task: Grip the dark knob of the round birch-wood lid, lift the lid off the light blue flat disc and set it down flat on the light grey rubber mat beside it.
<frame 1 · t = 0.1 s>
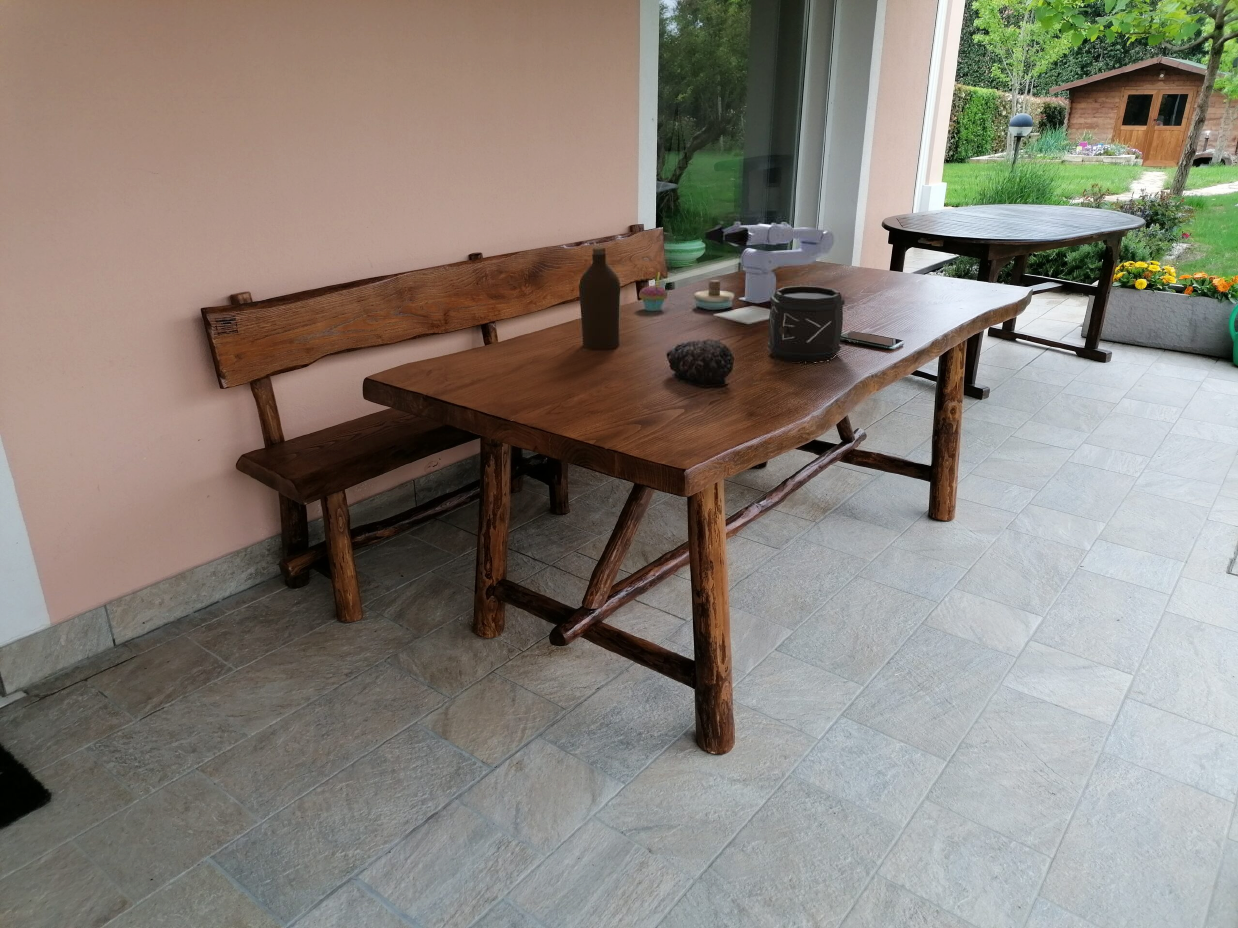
hand: (715, 236, 259), 22 cm above the table, tool horizontal, fingers open, 7 cm apart
mat: (750, 315, 260), on the table
pine cone: (695, 381, 203), on the table
lid: (714, 297, 269), point 3 cm above the table, touching light blue flat disc
cupcake: (653, 310, 269), on the table
olive oil: (601, 346, 231), on the table
dark grey barrel: (801, 356, 221), on the table
light blue flat disc: (713, 307, 270), on the table
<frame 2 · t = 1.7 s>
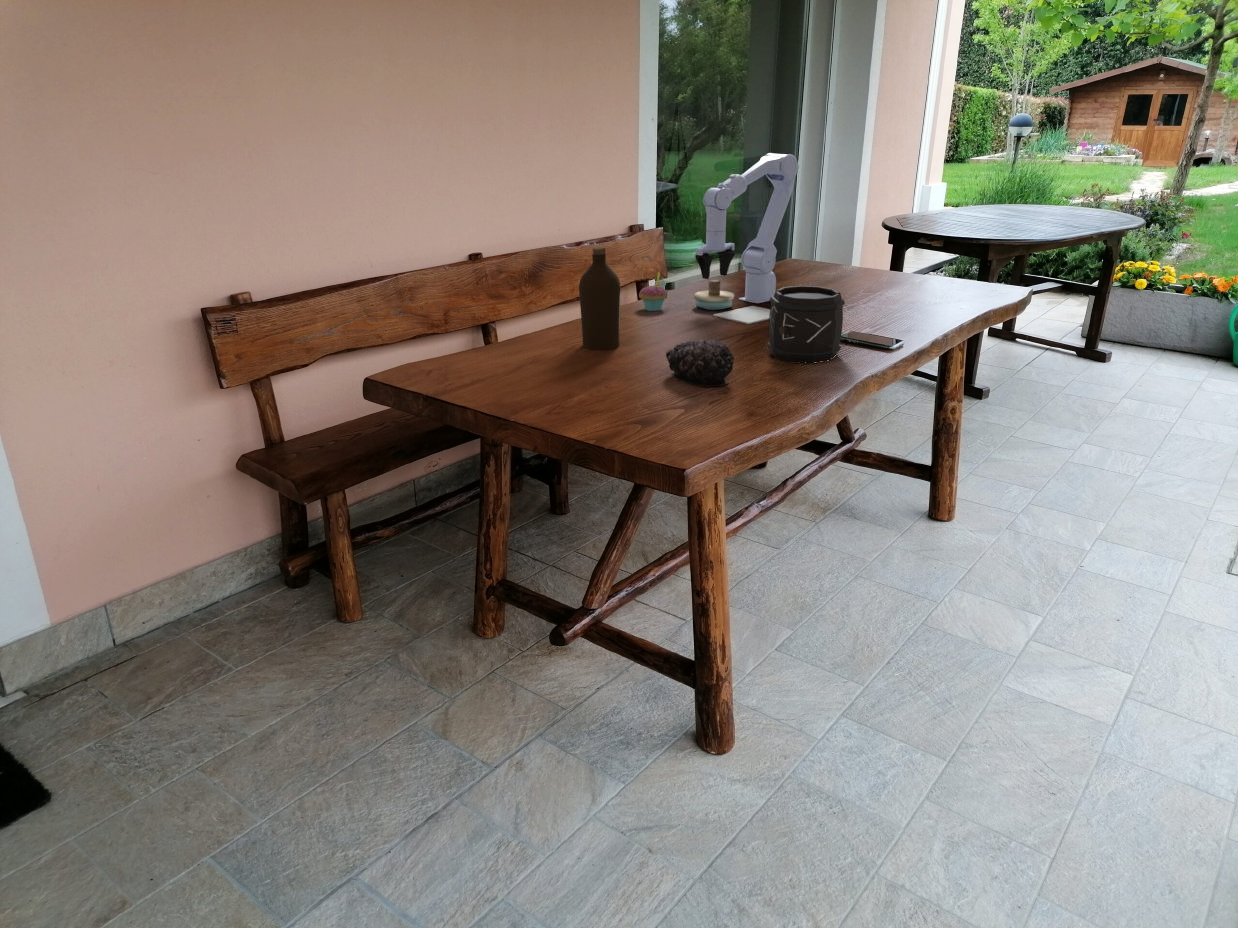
hand: (714, 277, 267), 9 cm above the table, tool pointing down, fingers open, 7 cm apart
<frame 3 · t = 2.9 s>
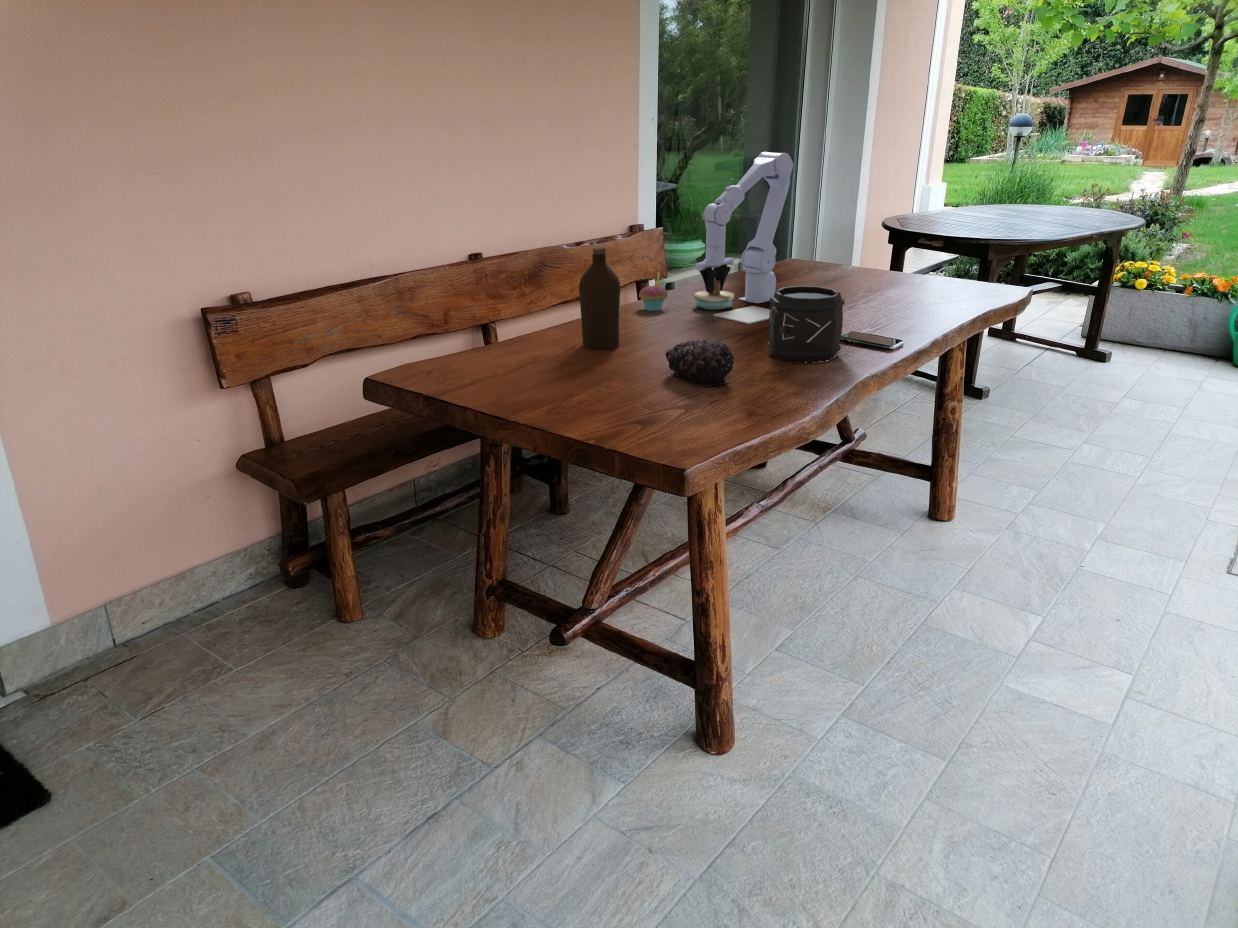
hand: (714, 291, 268), 5 cm above the table, tool pointing down, fingers closed on lid, 3 cm apart
lid: (714, 297, 269), point 3 cm above the table, touching light blue flat disc, gripper
everything else where it was.
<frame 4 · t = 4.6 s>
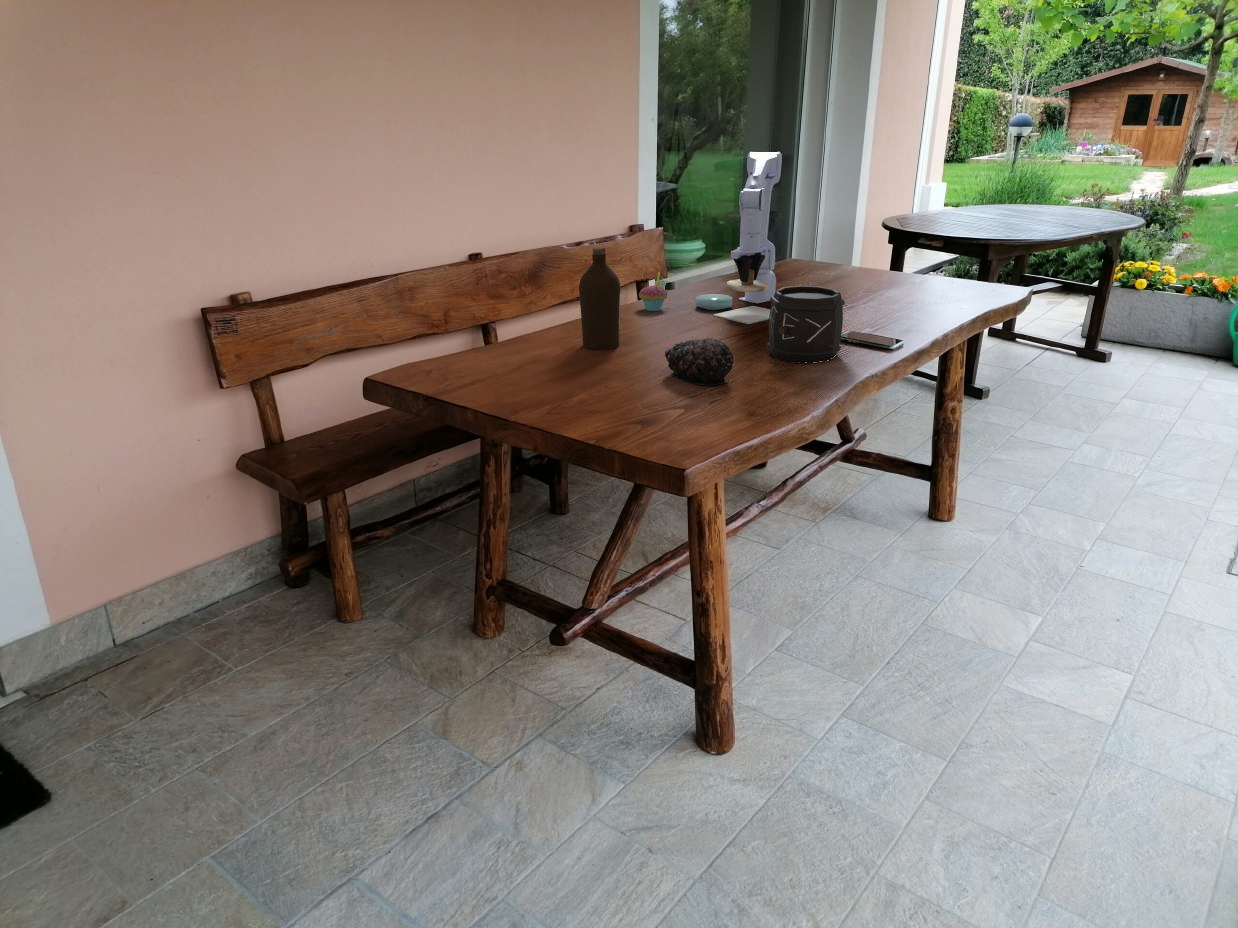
hand: (748, 280, 257), 10 cm above the table, tool pointing down, fingers closed on lid, 3 cm apart
lid: (747, 287, 258), point 8 cm above the table, touching gripper
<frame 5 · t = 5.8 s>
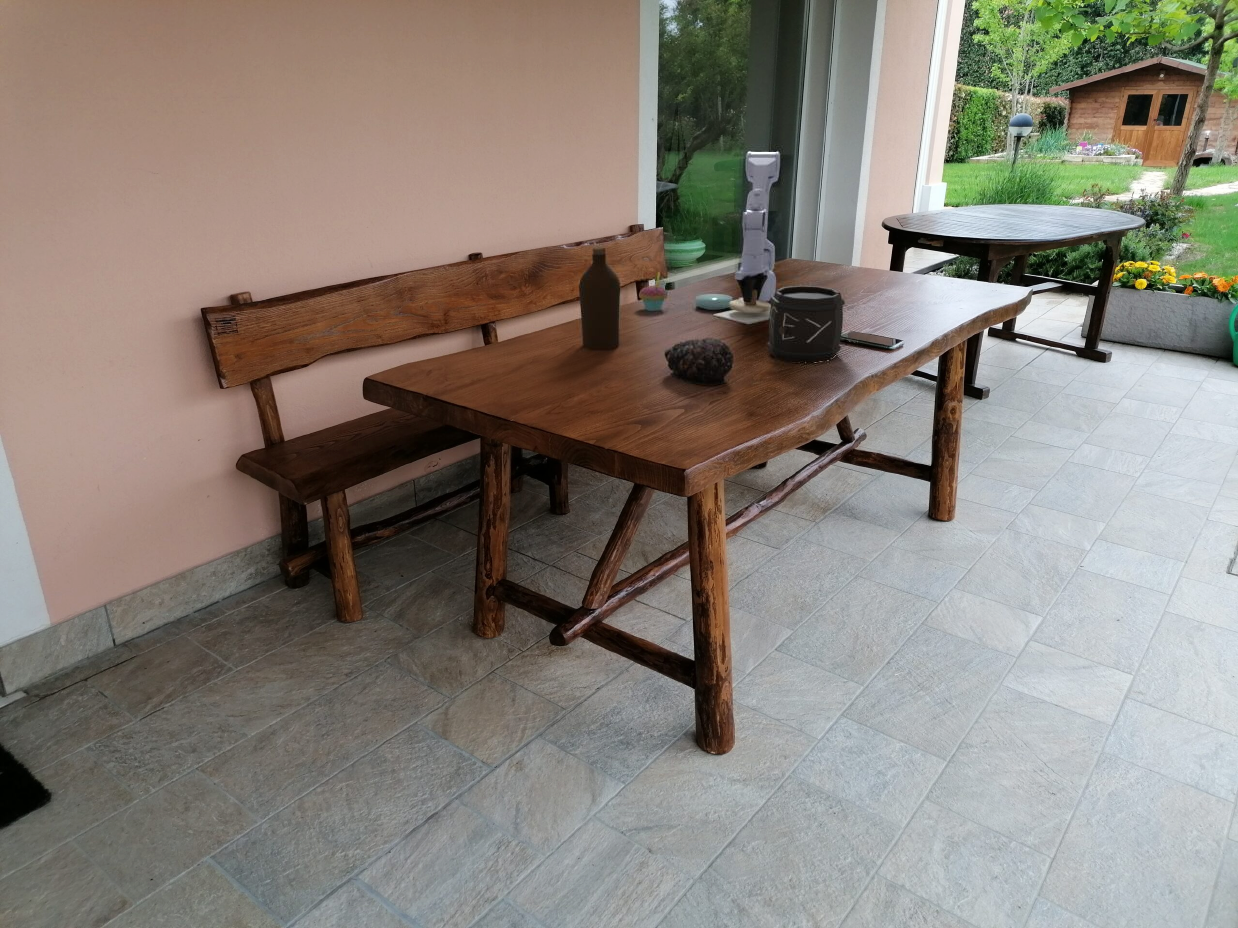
hand: (751, 301, 259), 4 cm above the table, tool pointing down, fingers closed on lid, 3 cm apart
lid: (749, 307, 260), point 2 cm above the table, touching gripper
when the fingers open (4 cm above the table, at t = 6.7 s): lid drops 2 cm, resting on mat.
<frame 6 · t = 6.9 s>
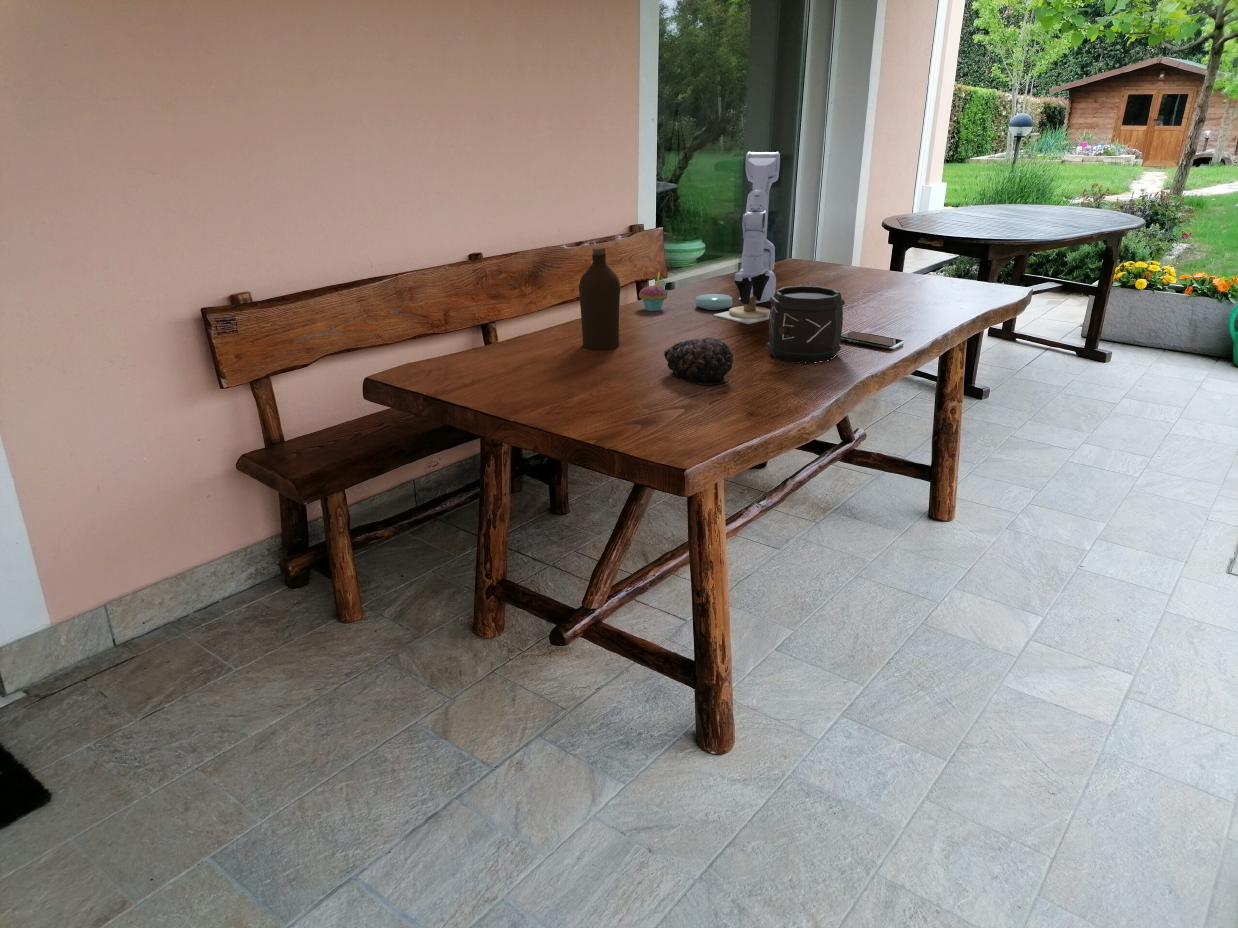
hand: (751, 302, 259), 4 cm above the table, tool pointing down, fingers open, 5 cm apart
lid: (749, 314, 260), resting on mat
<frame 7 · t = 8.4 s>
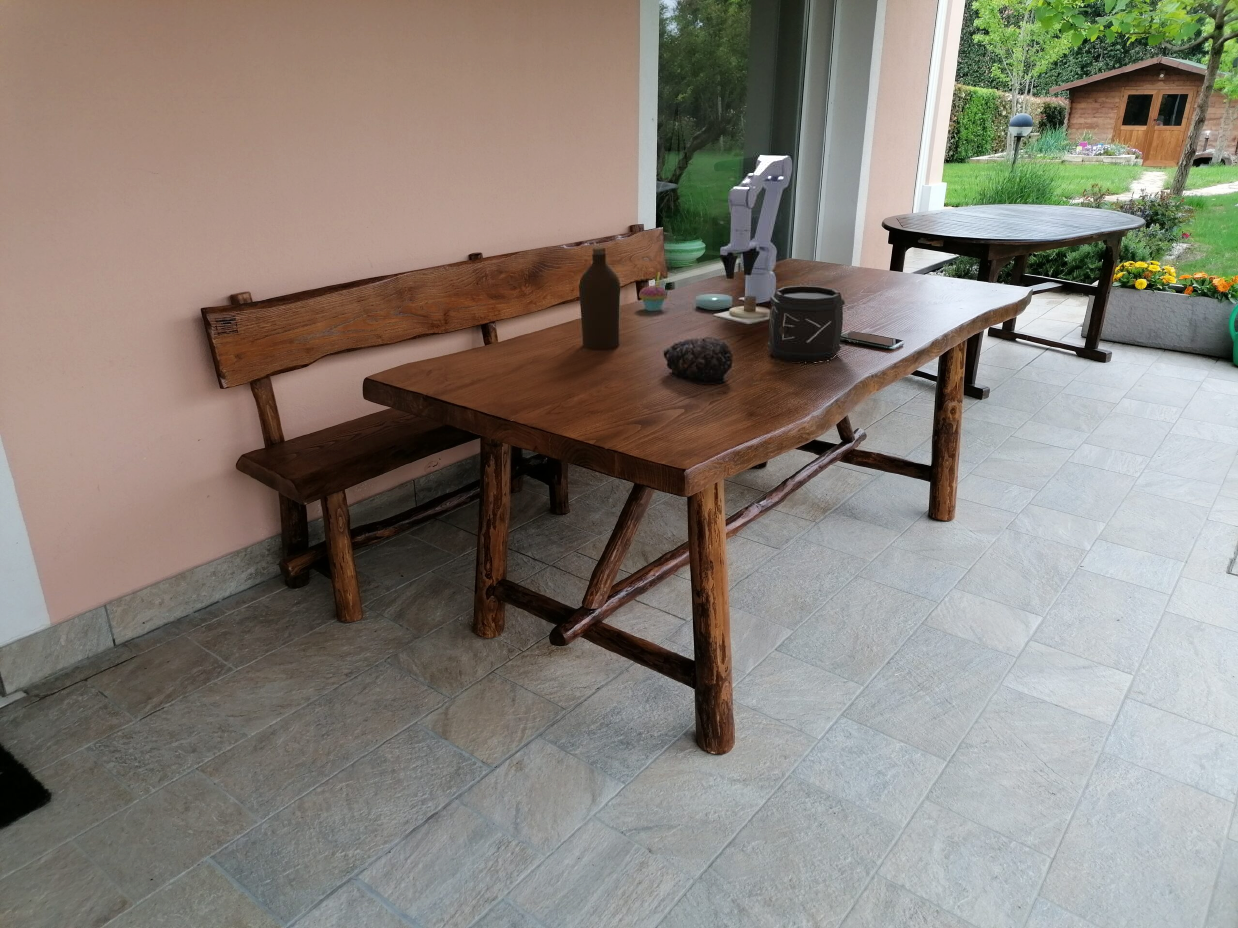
hand: (738, 276, 263), 10 cm above the table, tool pointing down, fingers open, 7 cm apart
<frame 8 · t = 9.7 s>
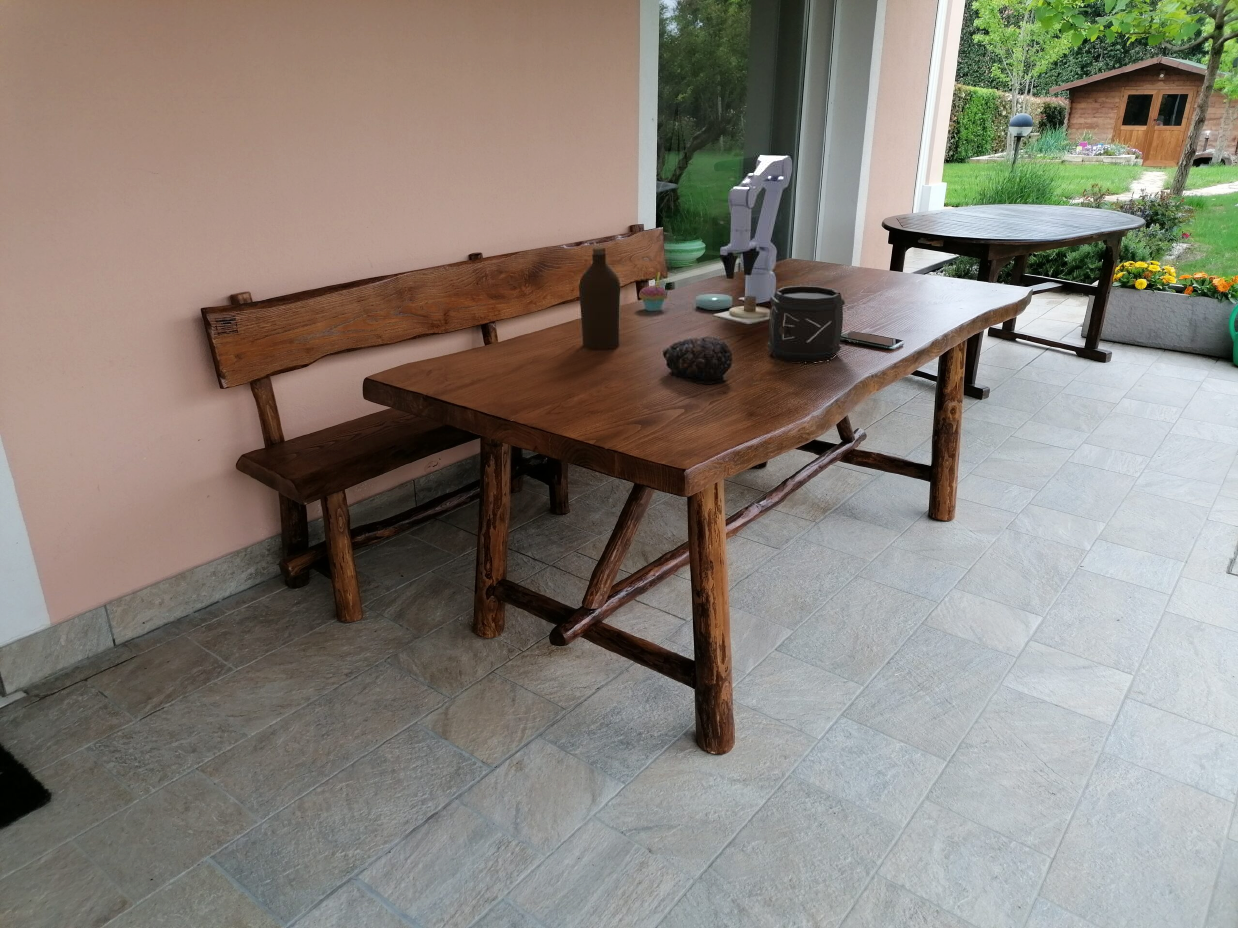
hand: (738, 276, 263), 10 cm above the table, tool pointing down, fingers open, 7 cm apart
at the end: lid inside the target area on the mat (0.3 cm from its centre), point 0.4 cm above the mat's base; lid touching mat; lid tilted 0° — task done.
